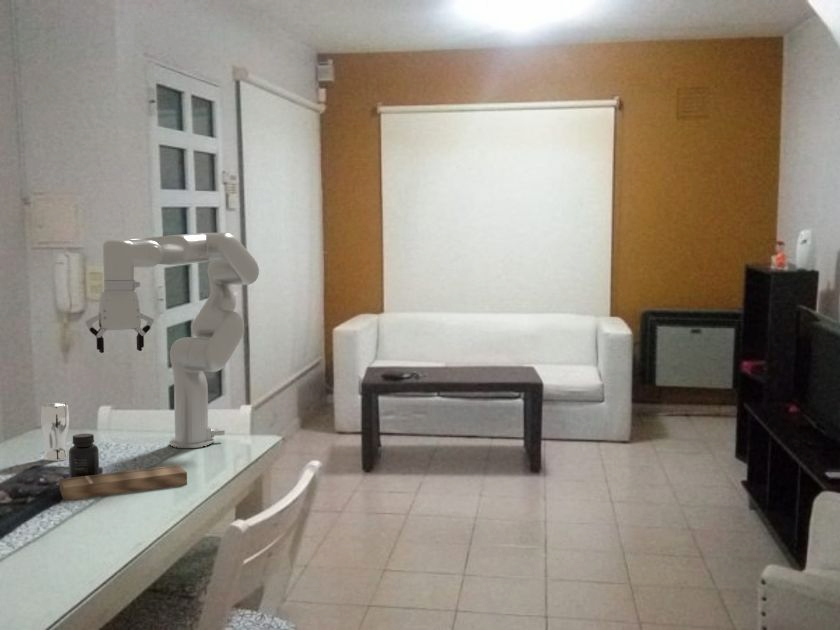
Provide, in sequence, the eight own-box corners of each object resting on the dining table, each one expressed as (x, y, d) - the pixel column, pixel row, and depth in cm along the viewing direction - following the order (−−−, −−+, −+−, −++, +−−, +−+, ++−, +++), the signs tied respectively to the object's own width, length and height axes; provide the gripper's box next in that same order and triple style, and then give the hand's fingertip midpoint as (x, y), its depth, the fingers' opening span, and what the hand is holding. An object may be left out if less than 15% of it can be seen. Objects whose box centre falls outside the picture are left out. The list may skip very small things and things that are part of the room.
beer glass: (74, 455, 235) (73, 402, 234) (61, 462, 228) (60, 407, 227) (51, 455, 235) (49, 401, 234) (37, 461, 229) (35, 406, 227)
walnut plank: (179, 476, 214) (178, 464, 214) (187, 484, 208) (186, 471, 207) (59, 491, 201) (59, 478, 200) (64, 500, 194) (63, 487, 194)
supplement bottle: (105, 481, 209) (104, 433, 208) (84, 488, 203) (82, 439, 202) (85, 478, 212) (83, 431, 211) (63, 485, 206) (61, 436, 205)
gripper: (149, 285, 231) (151, 348, 232) (82, 286, 222) (83, 351, 223) (155, 287, 224) (157, 351, 225) (86, 288, 216) (88, 354, 217)
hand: (120, 351), depth 224 cm, fingers open, 9 cm apart
